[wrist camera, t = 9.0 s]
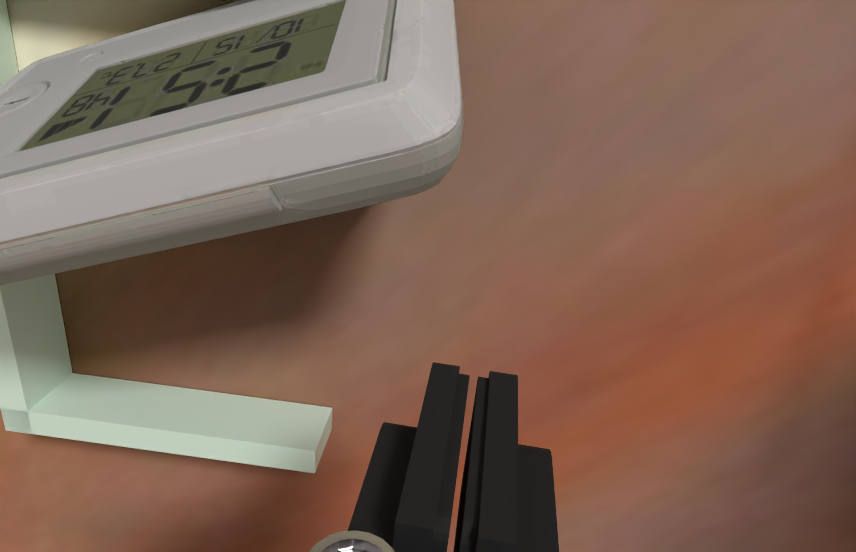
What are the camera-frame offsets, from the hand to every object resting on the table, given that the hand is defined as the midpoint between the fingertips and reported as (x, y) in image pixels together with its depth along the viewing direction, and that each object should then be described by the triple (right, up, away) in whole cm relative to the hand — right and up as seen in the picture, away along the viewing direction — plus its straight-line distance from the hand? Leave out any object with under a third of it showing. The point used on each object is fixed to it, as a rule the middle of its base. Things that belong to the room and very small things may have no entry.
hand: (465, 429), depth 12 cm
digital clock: (-7, +10, +10) cm, 16 cm away
